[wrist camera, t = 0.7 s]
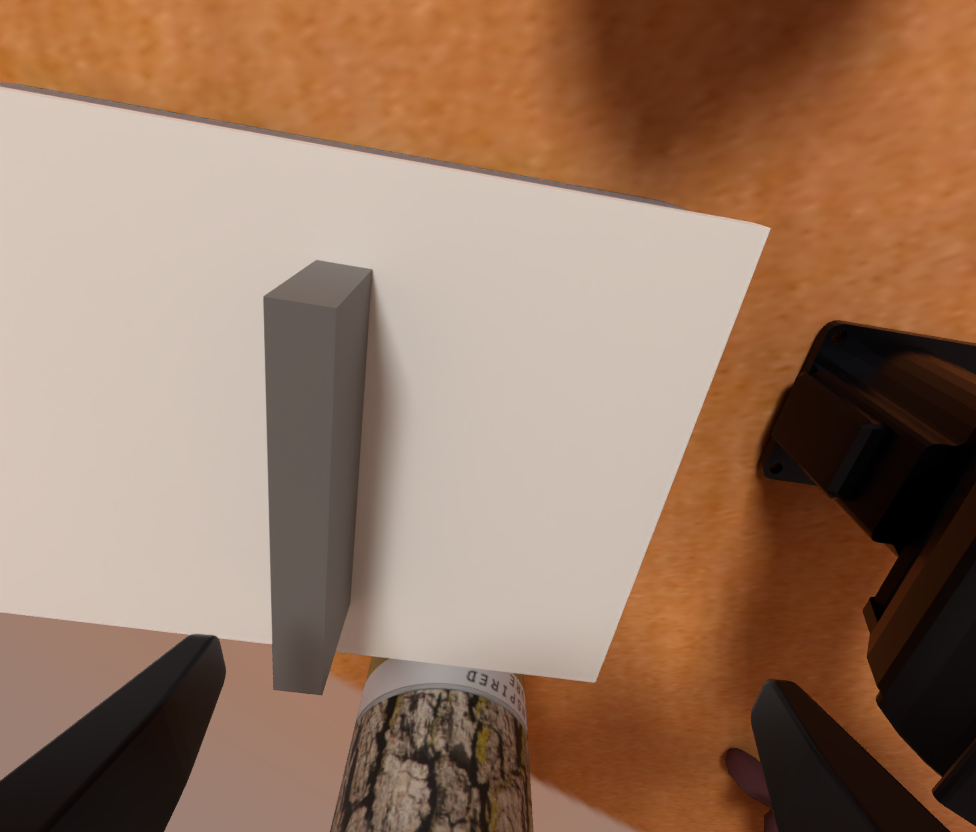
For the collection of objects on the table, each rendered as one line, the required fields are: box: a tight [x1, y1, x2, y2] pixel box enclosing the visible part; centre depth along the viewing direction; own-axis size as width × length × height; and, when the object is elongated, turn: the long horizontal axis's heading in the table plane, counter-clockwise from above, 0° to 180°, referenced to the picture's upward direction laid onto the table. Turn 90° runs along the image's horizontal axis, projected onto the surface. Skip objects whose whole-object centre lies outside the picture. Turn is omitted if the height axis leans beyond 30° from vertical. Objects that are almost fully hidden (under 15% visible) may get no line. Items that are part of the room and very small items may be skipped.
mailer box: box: [0, 82, 688, 211], centre depth 17 cm, size 20×14×6 cm
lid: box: [0, 87, 771, 695], centre depth 13 cm, size 20×14×4 cm
